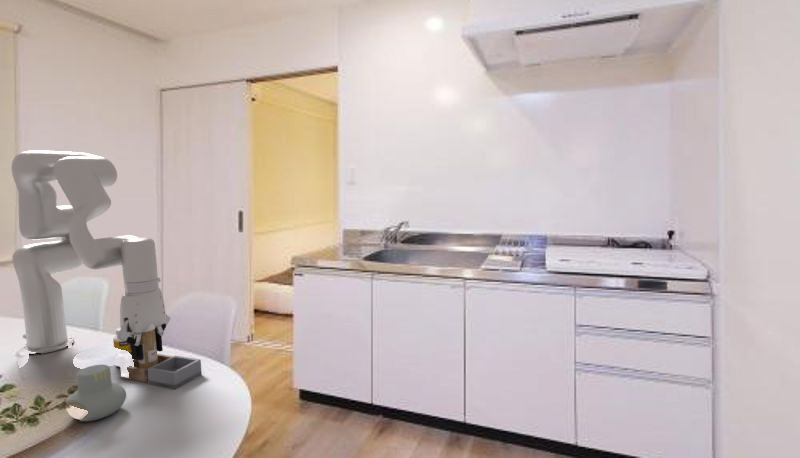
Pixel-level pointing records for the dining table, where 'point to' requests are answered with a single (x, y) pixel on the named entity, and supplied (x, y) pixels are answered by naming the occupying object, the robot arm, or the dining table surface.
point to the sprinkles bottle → (148, 348)
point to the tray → (174, 372)
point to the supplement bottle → (121, 342)
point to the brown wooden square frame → (141, 373)
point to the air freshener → (97, 393)
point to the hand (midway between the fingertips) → (147, 354)
